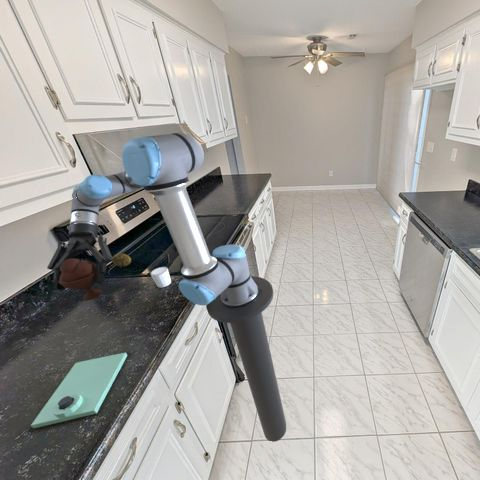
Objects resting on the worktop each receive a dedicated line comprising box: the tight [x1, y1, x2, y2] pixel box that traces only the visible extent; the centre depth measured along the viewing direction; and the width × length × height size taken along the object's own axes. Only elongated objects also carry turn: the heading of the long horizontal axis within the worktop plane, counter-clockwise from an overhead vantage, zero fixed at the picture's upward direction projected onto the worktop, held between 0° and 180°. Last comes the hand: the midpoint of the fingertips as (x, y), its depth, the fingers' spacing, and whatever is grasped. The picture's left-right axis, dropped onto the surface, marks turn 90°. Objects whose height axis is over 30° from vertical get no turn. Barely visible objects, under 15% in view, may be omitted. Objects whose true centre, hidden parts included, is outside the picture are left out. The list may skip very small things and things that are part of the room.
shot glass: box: [149, 266, 172, 289], centre depth 113 cm, size 7×7×7 cm
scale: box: [30, 351, 128, 429], centre depth 71 cm, size 14×18×3 cm
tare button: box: [58, 396, 73, 409], centre depth 65 cm, size 2×2×2 cm
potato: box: [112, 253, 132, 268], centre depth 129 cm, size 8×13×8 cm, turn 23°
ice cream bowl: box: [58, 257, 103, 302], centre depth 87 cm, size 11×11×15 cm
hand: (79, 286), depth 85 cm, fingers closed on ice cream bowl, 11 cm apart
